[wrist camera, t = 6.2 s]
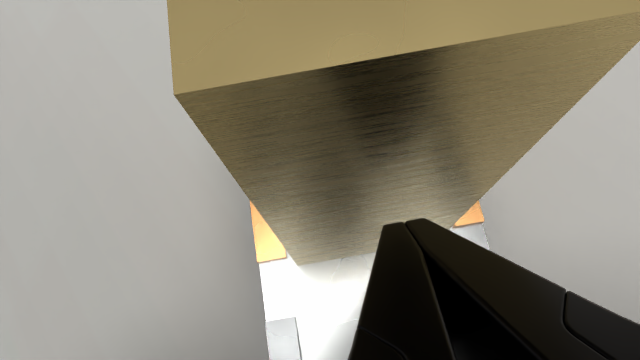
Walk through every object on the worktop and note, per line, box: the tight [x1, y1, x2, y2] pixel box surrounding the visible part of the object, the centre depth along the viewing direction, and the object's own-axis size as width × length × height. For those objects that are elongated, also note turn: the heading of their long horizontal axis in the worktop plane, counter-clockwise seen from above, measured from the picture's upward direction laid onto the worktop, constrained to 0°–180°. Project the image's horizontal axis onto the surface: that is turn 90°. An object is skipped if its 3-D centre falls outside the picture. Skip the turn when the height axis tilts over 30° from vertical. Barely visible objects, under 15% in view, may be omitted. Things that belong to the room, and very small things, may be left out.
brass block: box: [167, 0, 640, 266], centre depth 11 cm, size 6×5×12 cm
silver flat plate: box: [250, 201, 490, 360], centre depth 16 cm, size 15×8×1 cm, turn 10°
